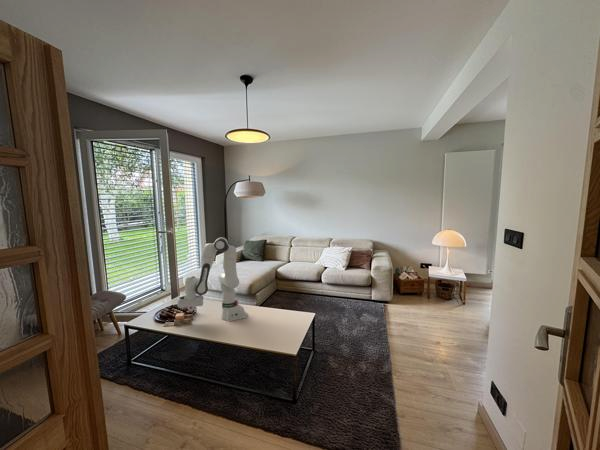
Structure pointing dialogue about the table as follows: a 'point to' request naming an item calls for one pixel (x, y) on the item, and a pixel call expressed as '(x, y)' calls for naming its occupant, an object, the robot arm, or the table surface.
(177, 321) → the chute
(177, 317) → the block
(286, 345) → the table surface
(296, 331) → the table surface
